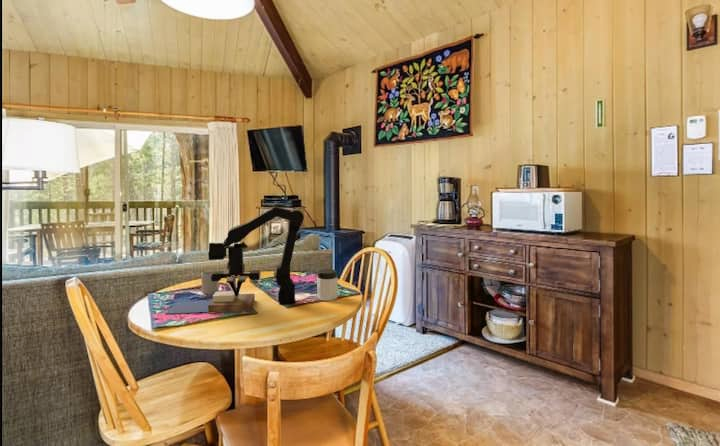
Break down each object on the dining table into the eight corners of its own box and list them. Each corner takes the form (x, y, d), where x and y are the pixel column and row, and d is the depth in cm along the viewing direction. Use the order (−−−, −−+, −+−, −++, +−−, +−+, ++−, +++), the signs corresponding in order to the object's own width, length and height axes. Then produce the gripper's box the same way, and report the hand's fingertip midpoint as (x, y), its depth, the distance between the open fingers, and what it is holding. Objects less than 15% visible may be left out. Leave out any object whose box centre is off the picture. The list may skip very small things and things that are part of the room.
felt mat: (215, 301, 179) (215, 300, 179) (208, 312, 165) (208, 311, 165) (176, 303, 177) (176, 302, 177) (165, 314, 163) (165, 313, 163)
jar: (315, 296, 188) (315, 269, 186) (332, 294, 191) (332, 268, 189) (321, 302, 179) (321, 274, 178) (339, 299, 183) (339, 272, 181)
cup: (205, 295, 188) (204, 275, 187) (197, 290, 195) (196, 271, 194) (221, 292, 193) (220, 273, 191) (212, 287, 200) (212, 269, 199)
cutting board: (254, 300, 181) (254, 293, 181) (250, 311, 167) (250, 303, 167) (215, 301, 179) (215, 294, 179) (208, 312, 165) (208, 305, 165)
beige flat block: (235, 296, 176) (235, 291, 176) (233, 301, 170) (233, 295, 170) (216, 297, 175) (215, 291, 175) (212, 301, 169) (212, 296, 169)
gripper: (261, 254, 180) (262, 290, 182) (215, 255, 178) (217, 291, 180) (258, 259, 169) (259, 297, 171) (210, 260, 167) (211, 299, 169)
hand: (236, 296), depth 173 cm, fingers closed
